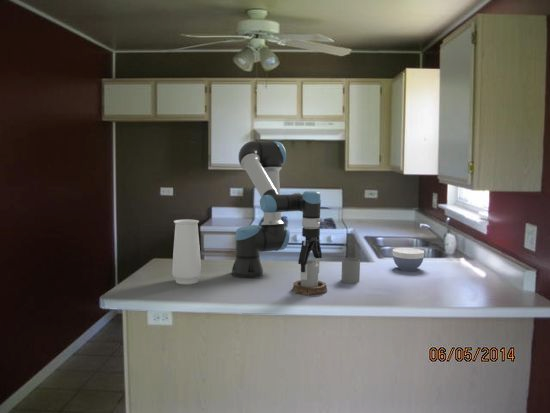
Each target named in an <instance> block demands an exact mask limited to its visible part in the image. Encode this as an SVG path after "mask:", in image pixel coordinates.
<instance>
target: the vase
mask: <svg viewBox="0 0 550 413" xmlns="http://www.w3.org/2000/svg"><path fill="white" fill-rule="evenodd" d="M173 223H174V227H175V228H174V237H173V238H174V239H173V253H172V277H174V279H175V283H176V284H178V285H193V284H194V285H195V284H196V283H198V282H199V278H200V277H201V275H202V262H201V261H202V260H201V250H200V248H201V247H200V236H199V235H200V234H199V226H198V224H199V223H200V220H197V219H190V218H187V219H186V218H185V219H175V220H173Z"/></svg>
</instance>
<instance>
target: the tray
mask: <svg viewBox="0 0 550 413" xmlns="http://www.w3.org/2000/svg"><path fill="white" fill-rule="evenodd" d="M292 283H293V285H292V292H293V293H295V294H297V295H302V296H311V297H312V296H322V295H324V294H326V293H328V288H327V283H326V282H324V281H322V280H318V287H302V286H301V279H300V280H296V281H294V282H292Z"/></svg>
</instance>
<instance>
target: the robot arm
mask: <svg viewBox="0 0 550 413" xmlns="http://www.w3.org/2000/svg"><path fill="white" fill-rule="evenodd" d="M286 161H287V152H286V148H285V147H284V145H283V143H282V142H280V141H275V140H274V141H273V140H263V141H262V140H258V141H257V140H250V141H247V142H246V143H244V144H243V145H242V147H241V148H240V149H239V152H238V163H239V164H240V168H242V169H243V170H245V171H246V173H247V175H248V177H249V178H250V181H251V182H252V183H253V185H254V187H255V189H256V191H257V192H258V194H259V196H260V200H259V207H260V210H261V211H262V212H263V221H262V222H261V224H260V225H257V224H256V225H255V224H252V225H251V224H249V225H244V226H240V227H239V228H237V229H236V230H235V237H234V238H235V260H234V262H233V265H232V269H231V275H232V276H233V277H238V278H244V279H245V278H258V277H261V276H263V275H264V269H263V265H262V263H261V258H260V257H261V256H260V253H263V252H264V253H266V252H274V251H275V252H278V251H283V250H285V249H286V248H287V247H288V245H289V243H290V239H291V238H290V237H291V236H290V231H289V228H288V227H287V226H286V225H285V222H284V221H283V220H282V212H283V213H284V212H285V213H286V212H302V220H301V221H302V223H301V226H302V229H301V235H302V237H303V238H305V240H301V247H300V253H299V255H298V256H299V257H298V261H297V264H298V265H300V280H301V279H303V280H307V264H306V263H307V260H309V257H310V253H311V252H312V254H313V257H312V258H313V259H312V260H313V261H316V262H317V264H318V274H320V259H322V258H323V256H322V255H323V254H322V248H321V243H320V236H321V232H320V231H321V228H320V227H321V223H322V221H321V203H322V202H321V201H322V200H321V193H320V191H315V190H307V191H306V190H305V191H303V193H300V192H297V193H296V192H295V193H291V194H281V187H280V186H281V185H280V171H281V170H282V168H283V166H284V164H285V163H286Z"/></svg>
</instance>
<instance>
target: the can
mask: <svg viewBox="0 0 550 413" xmlns="http://www.w3.org/2000/svg"><path fill="white" fill-rule="evenodd" d="M306 264H307V280H303V279H300V280H301V286H302V287H318V281H319V273H318V264H317V262H316V261H313V259H311V260H310V259H308V260H307V263H306Z"/></svg>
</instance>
